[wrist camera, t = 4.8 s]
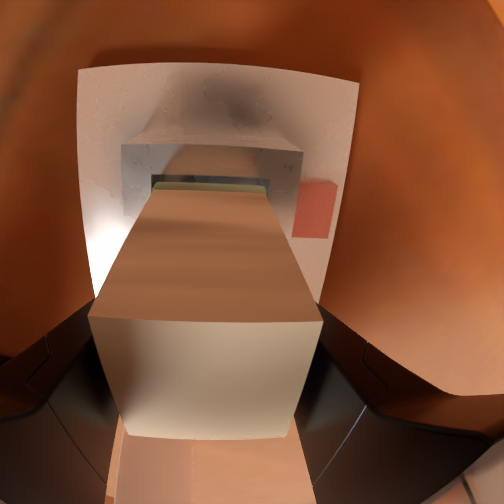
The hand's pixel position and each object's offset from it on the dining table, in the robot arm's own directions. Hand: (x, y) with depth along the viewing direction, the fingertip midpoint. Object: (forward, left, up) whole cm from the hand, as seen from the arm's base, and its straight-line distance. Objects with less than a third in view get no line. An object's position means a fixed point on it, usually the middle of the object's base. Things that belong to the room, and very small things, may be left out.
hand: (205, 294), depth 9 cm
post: (0, 0, -4) cm, 4 cm away
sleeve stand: (0, 0, -9) cm, 9 cm away
